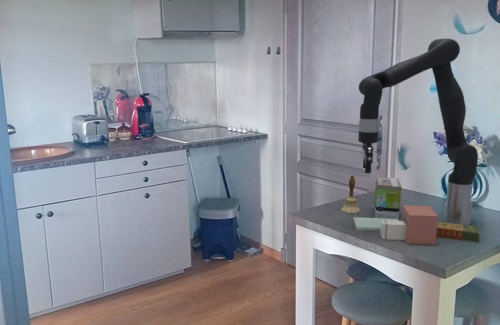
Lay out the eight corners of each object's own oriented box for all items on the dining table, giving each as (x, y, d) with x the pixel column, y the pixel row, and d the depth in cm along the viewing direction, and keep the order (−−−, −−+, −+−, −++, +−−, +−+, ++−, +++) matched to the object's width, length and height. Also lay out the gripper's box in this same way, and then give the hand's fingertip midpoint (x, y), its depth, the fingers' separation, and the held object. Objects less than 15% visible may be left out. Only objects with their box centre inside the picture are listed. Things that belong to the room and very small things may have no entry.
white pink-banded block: (414, 236, 193) (416, 221, 192) (417, 240, 188) (418, 225, 187) (380, 235, 194) (381, 220, 193) (382, 239, 190) (383, 224, 188)
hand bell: (343, 207, 229) (344, 172, 226) (361, 209, 226) (363, 174, 223) (339, 212, 222) (340, 177, 218) (358, 214, 219) (360, 178, 215)
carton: (433, 230, 200) (434, 220, 199) (477, 236, 194) (478, 225, 193) (432, 237, 192) (433, 227, 191) (478, 243, 186) (479, 232, 186)
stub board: (397, 221, 209) (397, 218, 209) (403, 231, 198) (403, 228, 197) (353, 220, 211) (353, 217, 211) (356, 229, 199) (356, 227, 199)
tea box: (399, 220, 211) (401, 186, 208) (374, 218, 213) (376, 184, 210) (396, 209, 226) (398, 177, 222) (373, 208, 228) (375, 176, 224)
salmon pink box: (427, 233, 196) (429, 206, 194) (435, 244, 184) (437, 216, 182) (400, 232, 197) (402, 205, 195) (406, 243, 185) (408, 215, 183)
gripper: (380, 133, 188) (378, 175, 192) (376, 127, 202) (374, 166, 205) (360, 132, 189) (358, 174, 193) (357, 127, 203) (355, 166, 206)
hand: (366, 170), depth 199 cm, fingers open, 8 cm apart
